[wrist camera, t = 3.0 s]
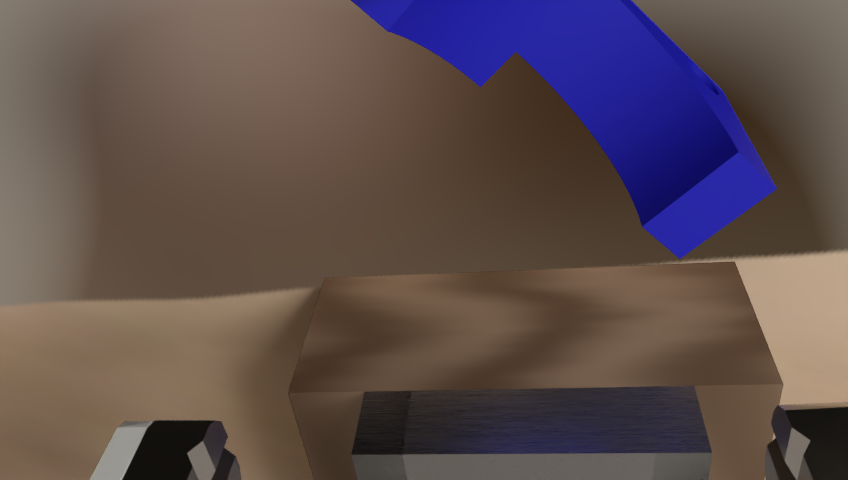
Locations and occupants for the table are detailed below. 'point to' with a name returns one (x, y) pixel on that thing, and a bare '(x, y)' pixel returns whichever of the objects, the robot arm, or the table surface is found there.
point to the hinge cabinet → (537, 376)
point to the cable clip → (610, 98)
